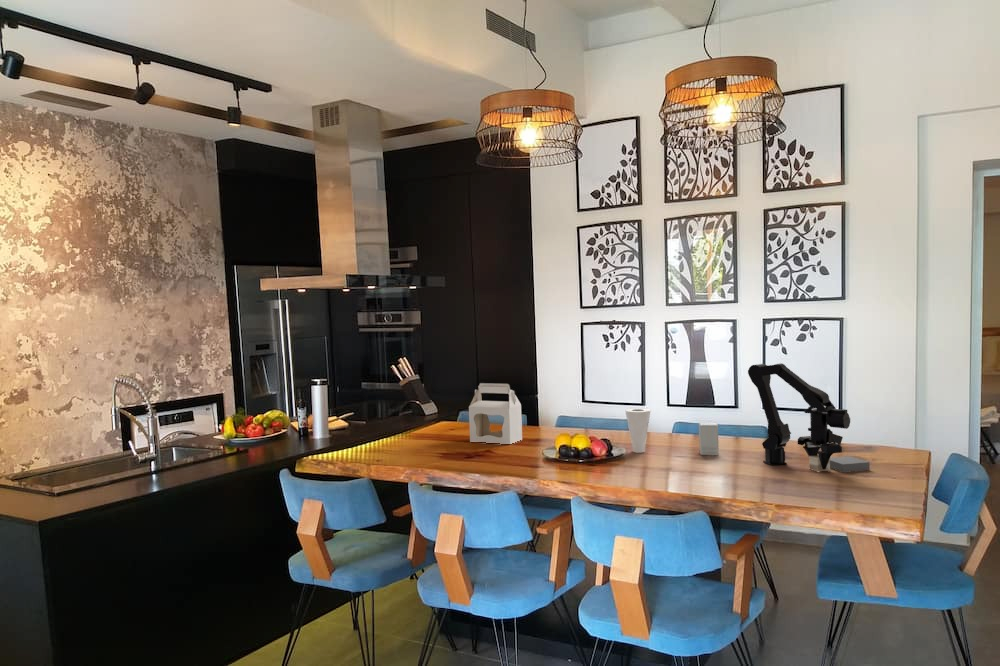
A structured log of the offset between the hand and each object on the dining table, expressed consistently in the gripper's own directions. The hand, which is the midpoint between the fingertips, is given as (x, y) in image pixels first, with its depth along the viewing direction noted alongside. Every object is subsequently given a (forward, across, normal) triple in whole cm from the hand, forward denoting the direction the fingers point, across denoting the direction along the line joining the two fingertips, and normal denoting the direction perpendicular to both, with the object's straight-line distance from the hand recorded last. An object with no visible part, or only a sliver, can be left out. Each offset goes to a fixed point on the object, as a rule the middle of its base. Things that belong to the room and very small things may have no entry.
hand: (819, 467), depth 261 cm
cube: (+1, 0, 0) cm, 1 cm away
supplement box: (+1, +40, +24) cm, 47 cm away
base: (+1, 0, -11) cm, 11 cm away
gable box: (+1, +98, +105) cm, 144 cm away
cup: (+1, +53, +50) cm, 73 cm away
